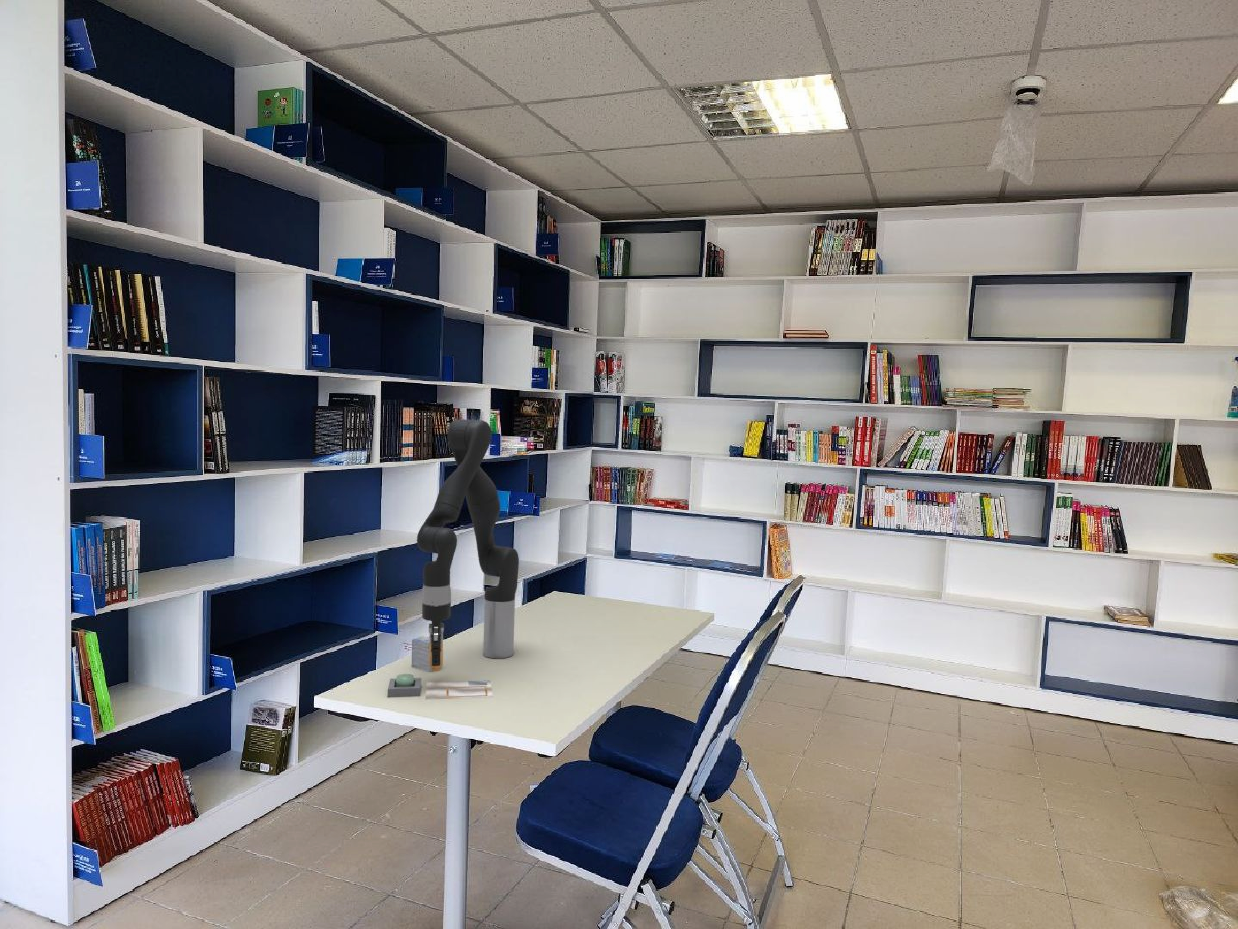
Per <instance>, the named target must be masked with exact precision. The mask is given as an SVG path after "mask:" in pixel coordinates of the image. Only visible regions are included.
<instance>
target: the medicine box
mask: <svg viewBox="0 0 1238 929" xmlns="http://www.w3.org/2000/svg"><path fill="white" fill-rule="evenodd" d="M411 668H414V669H419V670H423V671H426V672H430V673H433V672H435V671H432V670H431V667H429V636H424V635H421V636H417V637H414V638H412V639H411ZM442 669H443V666H442V667H441V670H442Z"/></svg>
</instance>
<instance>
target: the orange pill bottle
mask: <svg viewBox="0 0 1238 929" xmlns="http://www.w3.org/2000/svg"><path fill="white" fill-rule="evenodd" d="M428 637H429V667H431V670H432V671H434V672H438V671H441V670H442V669H441V667H442V668H443V666H444V641H443V642H442V643H441V652H440V666H432V653H431V644H430V635H429V636H428ZM438 647H439V646H433V648H438Z"/></svg>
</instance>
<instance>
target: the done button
mask: <svg viewBox="0 0 1238 929" xmlns="http://www.w3.org/2000/svg"><path fill="white" fill-rule="evenodd" d="M414 676H415V675H413V674H410V673H404V674H398V675H397V676H396V678H395V679H396V687H413V686H414V678H415V677H414Z"/></svg>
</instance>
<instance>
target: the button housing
mask: <svg viewBox="0 0 1238 929" xmlns="http://www.w3.org/2000/svg"><path fill="white" fill-rule="evenodd" d="M421 688H422V677H414V686H413V687H396V678H390V679H389V682H388V688H387V698H404V697H405V698H406V697H407V698H409V697H420V696H421V691H422V690H421Z"/></svg>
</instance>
